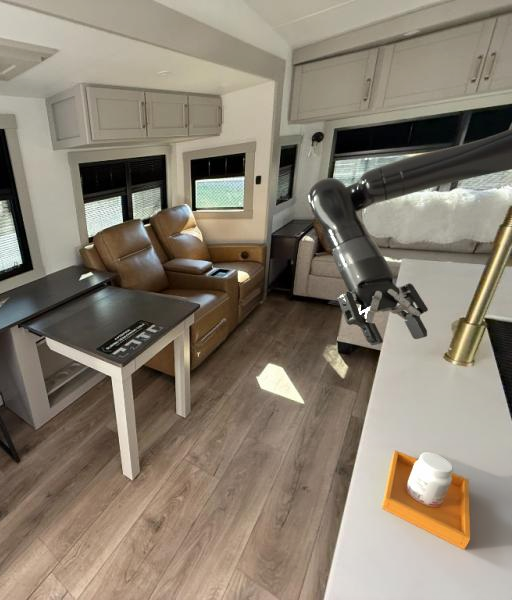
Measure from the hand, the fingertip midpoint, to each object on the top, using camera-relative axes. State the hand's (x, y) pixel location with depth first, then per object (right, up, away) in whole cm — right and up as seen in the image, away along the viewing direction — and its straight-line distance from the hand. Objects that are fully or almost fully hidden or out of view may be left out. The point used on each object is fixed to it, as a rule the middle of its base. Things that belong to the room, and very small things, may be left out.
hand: (399, 341), depth 58 cm
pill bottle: (+4, -28, 0) cm, 28 cm away
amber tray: (+4, -29, 0) cm, 29 cm away
